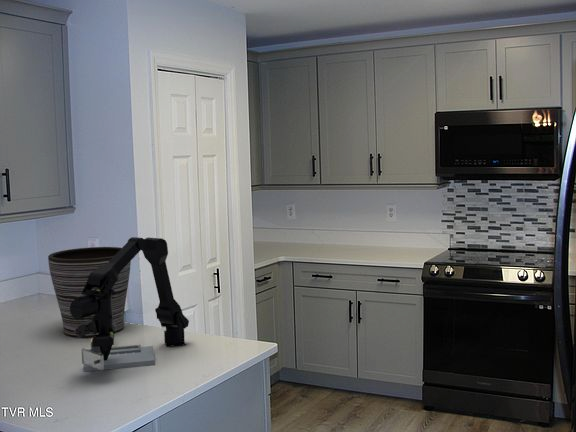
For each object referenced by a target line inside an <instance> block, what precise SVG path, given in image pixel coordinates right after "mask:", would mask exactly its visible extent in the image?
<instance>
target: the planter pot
mask: <svg viewBox="0 0 576 432" xmlns="http://www.w3.org/2000/svg"><path fill="white" fill-rule="evenodd" d="M121 248H122V247H118V246H96V247H94V246H91V247H81V248H80V247H79V248H78V247H77V248H72V249H64V250H59V251H56V252H52V253H50V254H49V255H48V257H47V260H48V261H47V262H48V268H49V269H48V270H49V273H50V279H51V282H52V286H53V289H54V294H55V297H56V300H57V303H58V308H59V312H60V316H61V321H62V326H63V334H64V336H66V337H69V338H73V339H79V338H78V336H77V335H76V331H75V326H76V325H78V324H81V323H83V322H85V321H88V320H91V319H92V317H93V315H91V316H87V317H84V318H81V319H75V318H74V317H73V316H72V315H71V312H70V306H71V303H72V301H74V296H80V295H82V294H81V293H82V291H83V289H84V287H85V285H86V282H87V280H88V276H89V275H90V273H91V272H93V271H94V270H95V269H97V268H98V267H101V266H103V265H105V264H107V263H108V262H109V261H110V260H111V259H112V258H113V257H114V256H115V255H116V254H117V253H118V252H119V251H120V249H121ZM131 261H132V260H131ZM131 261H130V262H129V263H128V264H127V265H126V266H125V268H124V269H123V270H122V271H121V272H120V273H119V275H118V280H117V282H116V283H115V285H114V286H113V288H112V289H113V290H114V291H115V292H117V294H116V295H113V296H112V312H113V323H115V331H113V335H116V334H118V333H120V332H121V331H123V330H124V329H125V310H126V308H125V307H126V300H127V294H128V287H129V281H130V273H131V264H132V263H131ZM92 290H95V289H92ZM96 291H97V290H96ZM94 336H95V334H93V332H91V333H89V334H87V335H84V336H83V337H81V338H80V339H92V338H93V337H94Z"/></svg>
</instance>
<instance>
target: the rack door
mask: <svg viewBox="0 0 576 432" xmlns="http://www.w3.org/2000/svg"><path fill="white" fill-rule="evenodd" d="M87 349H88V348H86V349H84V350H83V359H84V364H86V365H89V366H92V367H94V368H97V369H100V370H99V371H103V369H104V356H103V355H102V354H99V353H96V352H93V351H90V350H87ZM84 364H83V365H84Z"/></svg>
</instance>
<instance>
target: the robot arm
mask: <svg viewBox="0 0 576 432" xmlns="http://www.w3.org/2000/svg"><path fill="white" fill-rule="evenodd" d="M120 248H121V249H120V251H119V252H118V253H117V254H116V255H115V256H114V257H113V258H112V259H111V260H110V261H109V262H108V263H107V264H105V265H103V266H101V267H98V268H97V269H95V270H94V271H93V272H91V273H90V275H89V276H88V280H87V282H86V285H85V287H84V289H83V291H82V293H81V294H82V295H80V296H74V301H72V303H71V306H70V312H71V315H72V316H73V317H74V318H75V319H81V318H84V317H87V316H91V315H93V317H92V319H91V320H88V321H85V322H83V323H81V324H78V325H76V326H75V331H76V335H77V336H78V338H77V339H82V338H81V337H83V336H84V335H87V334H89V333H91V332H93V334H95V336H94V337H93V338H91V339H92V347H100V350H101V354H102V355H103V356H104V361H106V360H107V359H108V356H109V353H110V351H111V348H112V347H113V345H115V334H113V335H112V333H110V332H113V331H115V323H113V312H112V296H113V295H116V294H117V292H115V291H114V290H113V289H112V288H113V286H114V285H115V283H116V282H117V280H118V275H119V273H120V272H121V271H122V270H123V269H124V268H125V266H126V265H127V264H128V263H129V262H130V261H132V260H133V259H134V258H135V257H136V256H137V255H139V253H140V252H141V251H142V254H143V257H144V258H145V259H146V261H147V262H148V263H149V264H150V266H151V269H152V270H151V271H152V274H153V279H154V282H155V286H156V287H155V288H156V291H157V297H158V300H159V302H158V305H157V307H156V308H155V310H154V311H155V314H156V319H157V320H158V322H159V323H160V326H161V327H162V328H165V330H164V331H163V336H164V337H163V338H164V339H163V340H164V344H165V345H166V347H177V346H186V342H185V339H186V338H185V329H187V328H188V327H189V323H190V320H189V319H188V318H187V317H186V316H185V315H184V313H183V311H182V307H181V305H180V304H179V303H178V301H177V300H176V299H175V298H174V293H173V290H172V284H171V280H170V276H169V271H168V266H167V262H166V260H167V258H168V255H169V250H168V243H167V240H165V238H162V237H161V238H160V237H145V238H143V237H135V236H132V237H129V239H128V240H127V242H126V243H125V244H124V246H122V247H120ZM92 289H95V290H92ZM96 290H100V291H96Z"/></svg>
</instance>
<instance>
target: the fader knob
mask: <svg viewBox="0 0 576 432" xmlns="http://www.w3.org/2000/svg"><path fill="white" fill-rule="evenodd" d="M90 339H91V340H90V347H91V348H90V349H91V350H92V351H93V352H96V353H101V350H100V347H92V338H90Z"/></svg>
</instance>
